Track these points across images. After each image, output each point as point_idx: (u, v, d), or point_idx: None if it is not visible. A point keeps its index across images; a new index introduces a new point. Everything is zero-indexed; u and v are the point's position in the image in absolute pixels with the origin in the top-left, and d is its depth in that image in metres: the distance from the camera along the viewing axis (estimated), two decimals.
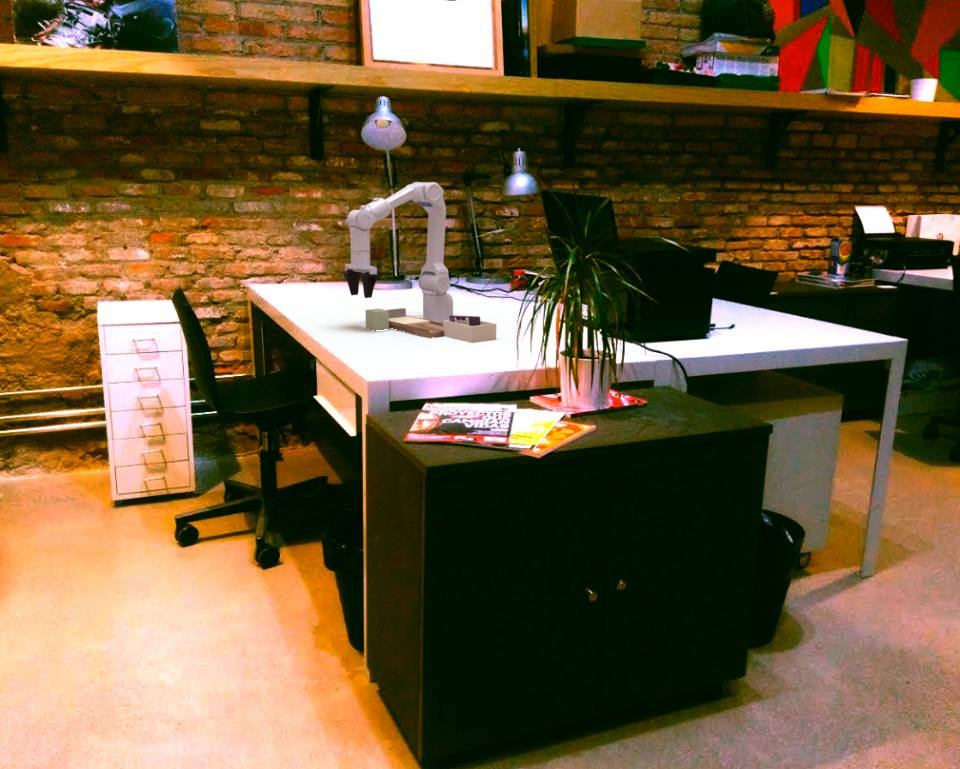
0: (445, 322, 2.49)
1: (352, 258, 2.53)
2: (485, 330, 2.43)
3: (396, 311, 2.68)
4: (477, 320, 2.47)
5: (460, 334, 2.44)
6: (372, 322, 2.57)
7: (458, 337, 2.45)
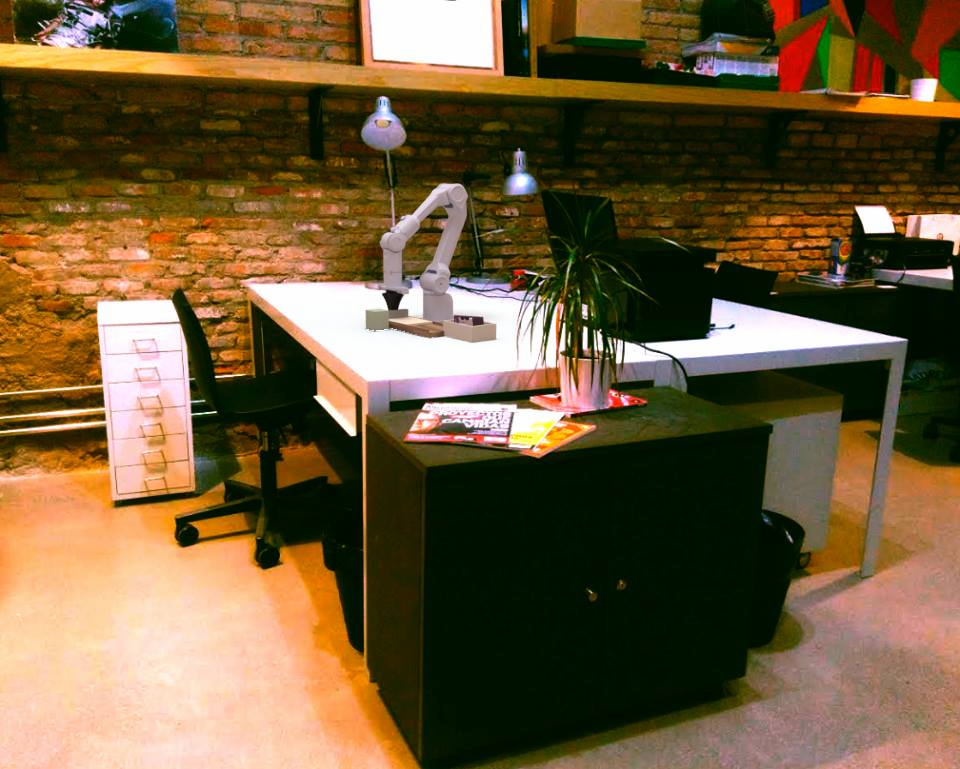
0: (445, 322, 2.49)
1: (385, 279, 2.65)
2: (485, 330, 2.43)
3: (399, 311, 2.67)
4: (480, 320, 2.47)
5: (460, 334, 2.44)
6: (372, 322, 2.57)
7: (458, 337, 2.45)
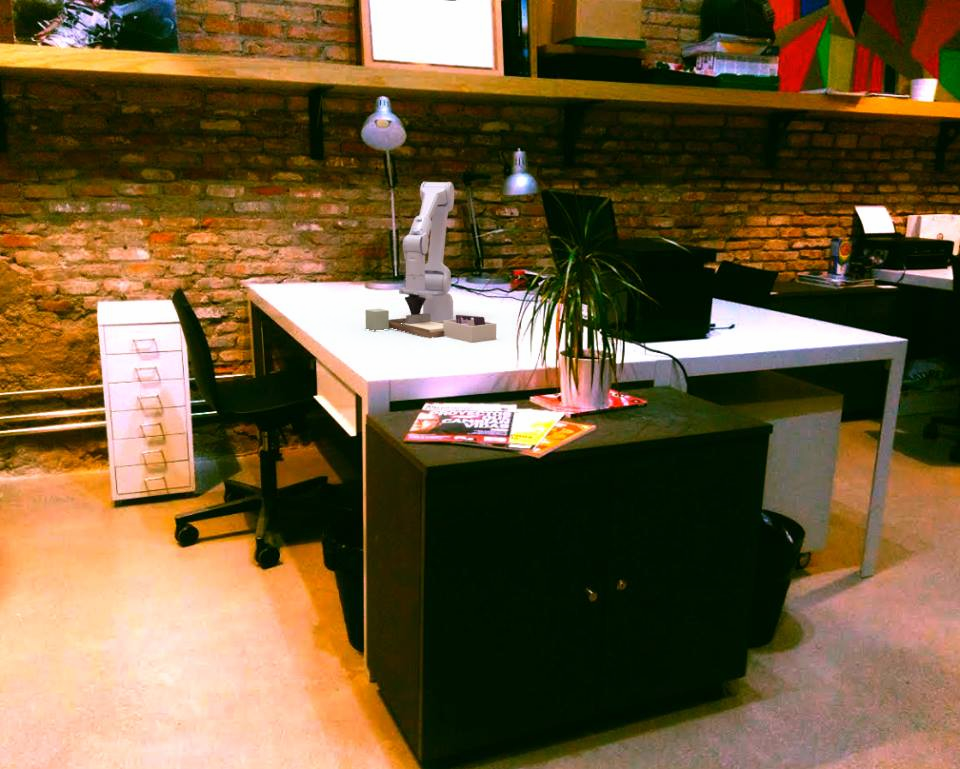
0: (445, 322, 2.49)
1: (407, 282, 2.56)
2: (485, 330, 2.43)
3: (421, 316, 2.58)
4: (481, 320, 2.46)
5: (460, 334, 2.44)
6: (372, 322, 2.57)
7: (458, 337, 2.45)
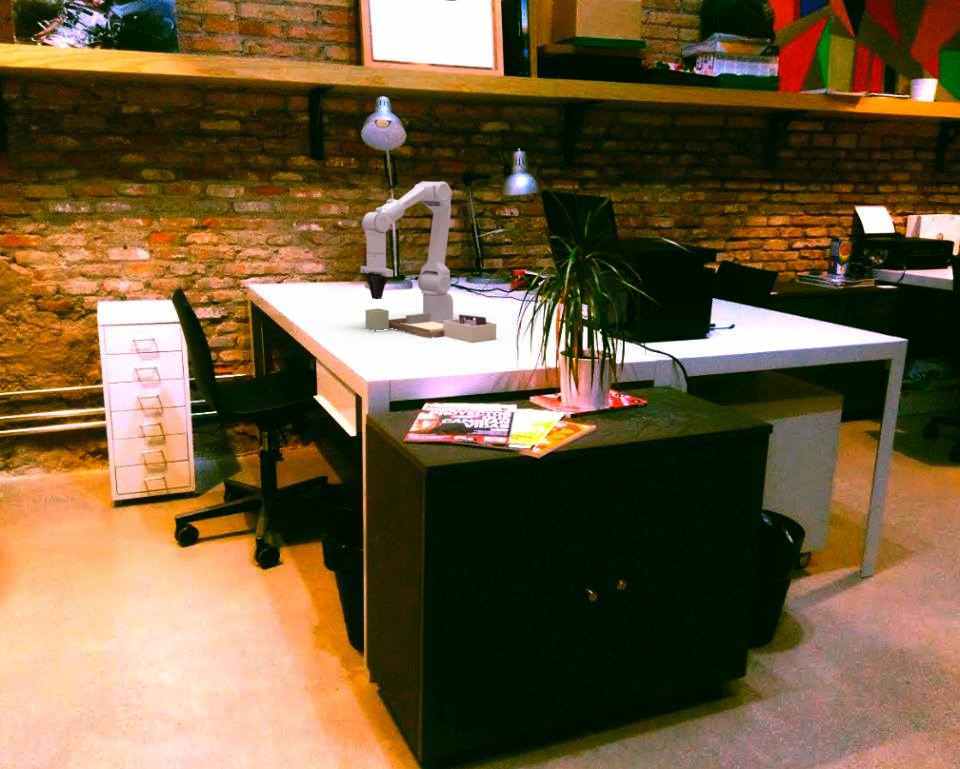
0: (445, 322, 2.49)
1: (368, 261, 2.53)
2: (485, 330, 2.43)
3: (421, 316, 2.58)
4: (483, 321, 2.46)
5: (460, 334, 2.44)
6: (372, 322, 2.57)
7: (458, 337, 2.45)
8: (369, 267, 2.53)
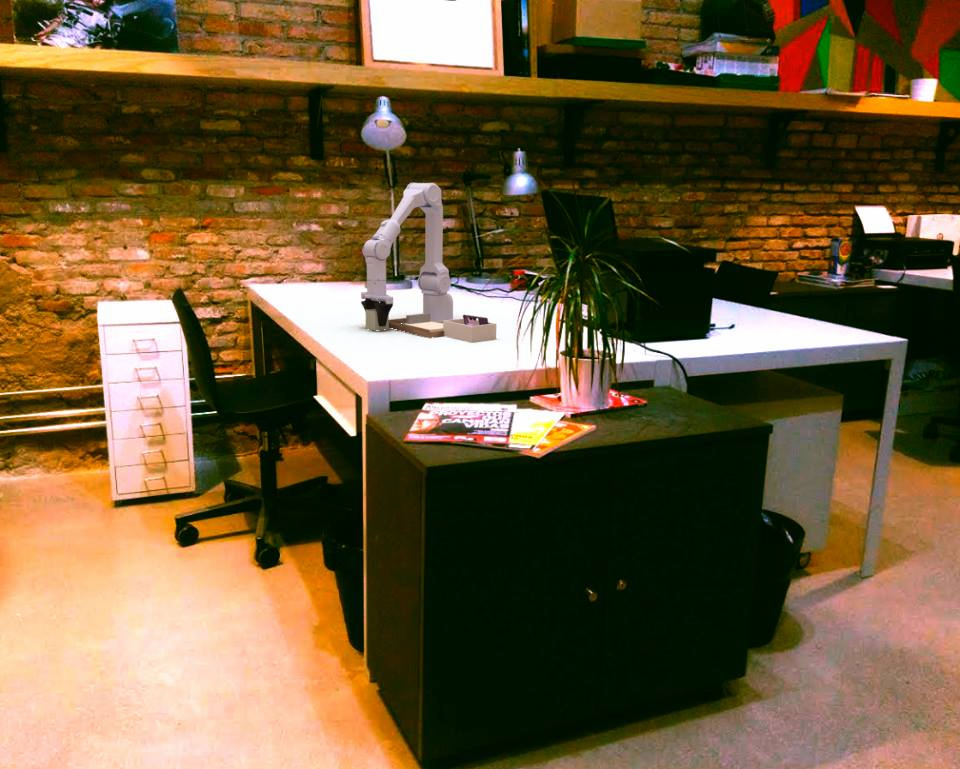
0: (445, 322, 2.49)
1: (368, 288, 2.55)
2: (485, 330, 2.43)
3: (421, 316, 2.58)
4: (485, 321, 2.45)
5: (460, 334, 2.44)
6: (372, 322, 2.57)
7: (458, 337, 2.45)
8: (369, 294, 2.55)
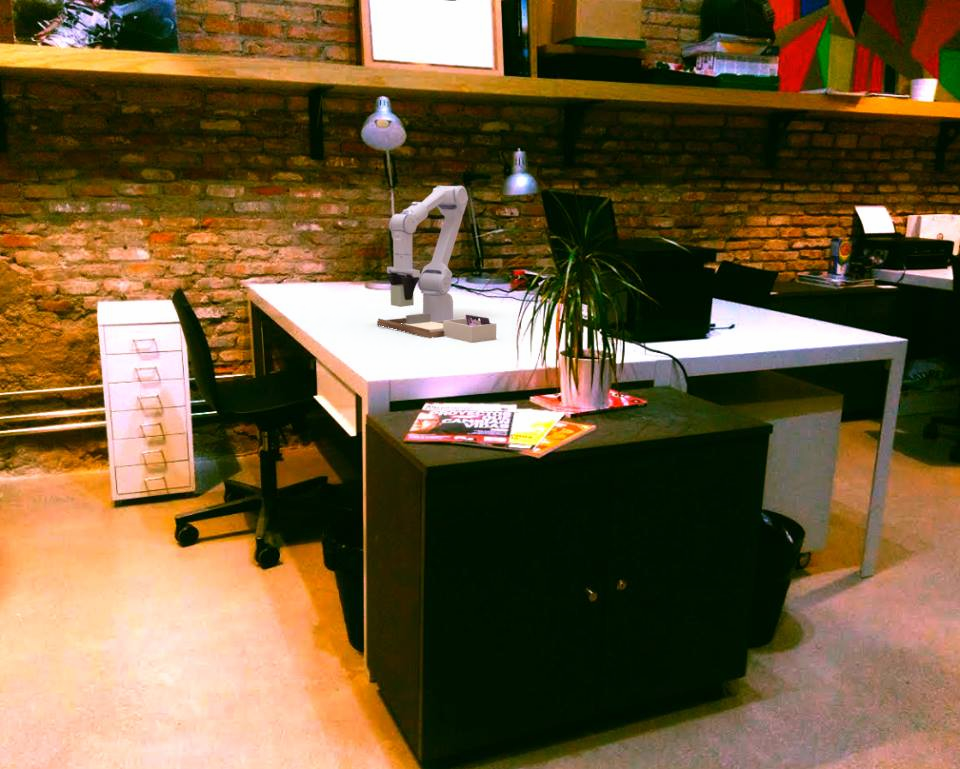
0: (445, 322, 2.49)
1: (395, 261, 2.58)
2: (485, 330, 2.43)
3: (421, 316, 2.58)
4: (487, 321, 2.45)
5: (460, 334, 2.44)
6: (397, 298, 2.60)
7: (458, 337, 2.45)
8: (396, 268, 2.58)
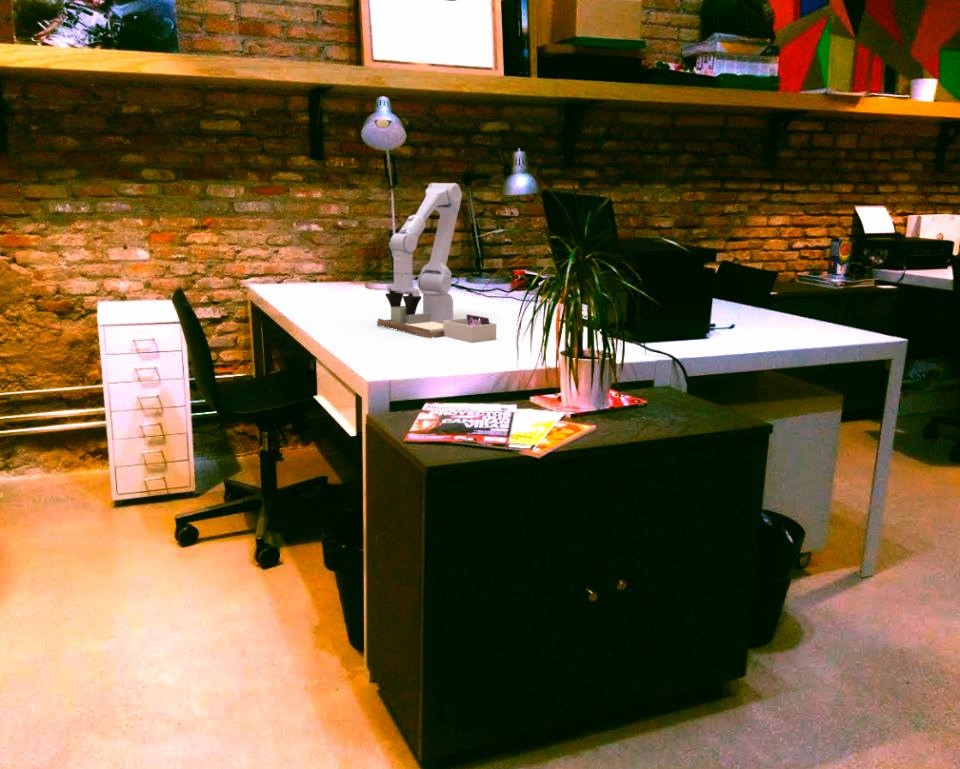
0: (445, 322, 2.49)
1: (395, 280, 2.60)
2: (485, 330, 2.43)
3: (421, 316, 2.58)
4: (486, 321, 2.45)
5: (460, 334, 2.44)
6: (397, 319, 2.61)
7: (458, 337, 2.45)
8: (396, 287, 2.60)
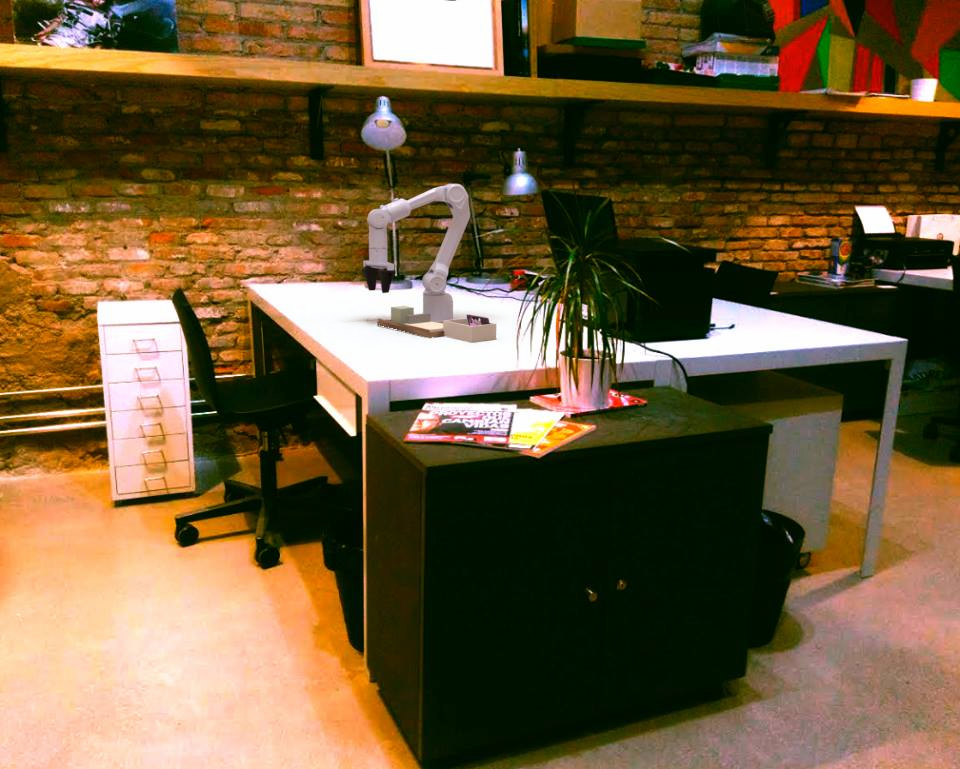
0: (445, 322, 2.49)
1: (370, 255, 2.66)
2: (485, 330, 2.43)
3: (421, 316, 2.58)
4: (486, 321, 2.45)
5: (460, 334, 2.44)
6: (397, 319, 2.61)
7: (458, 337, 2.45)
8: (371, 261, 2.66)
